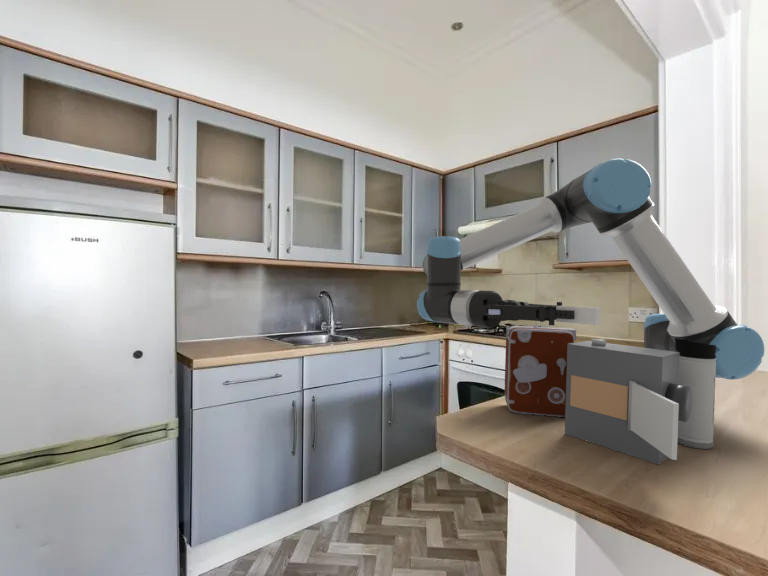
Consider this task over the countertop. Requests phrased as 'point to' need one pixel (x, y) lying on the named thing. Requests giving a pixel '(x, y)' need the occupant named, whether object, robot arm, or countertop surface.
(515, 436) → the countertop surface
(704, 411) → the travel mug
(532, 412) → the red printed tin
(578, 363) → the box
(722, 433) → the countertop surface
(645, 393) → the side door
